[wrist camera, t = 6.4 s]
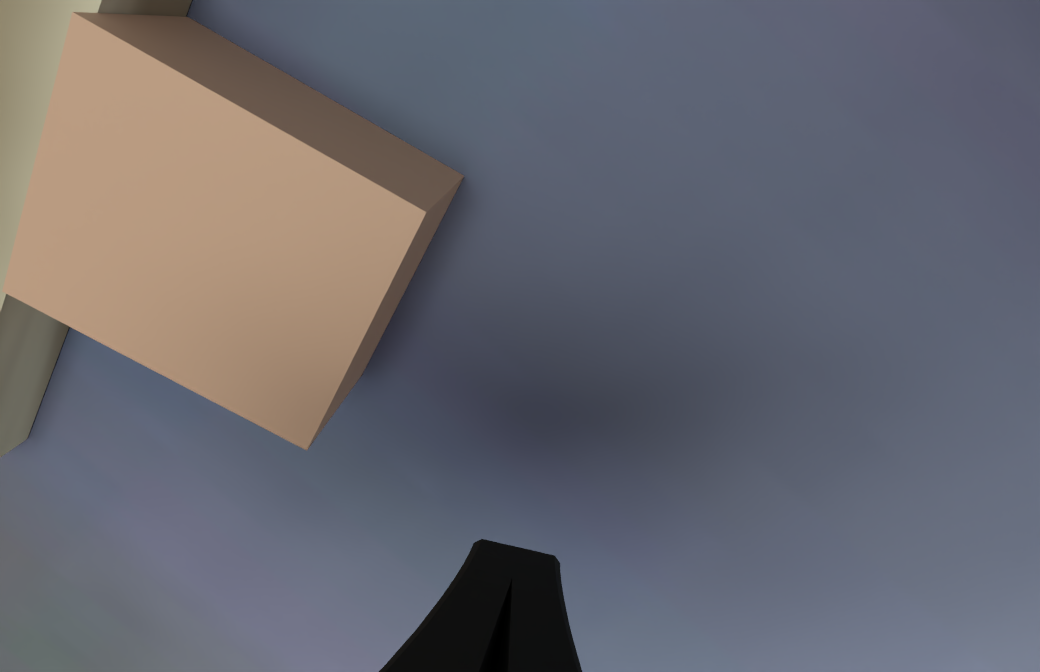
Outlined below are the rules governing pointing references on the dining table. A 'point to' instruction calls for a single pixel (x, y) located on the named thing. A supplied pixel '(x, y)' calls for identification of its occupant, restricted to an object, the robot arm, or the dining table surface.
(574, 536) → the dining table surface
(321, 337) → the tan rectangular block
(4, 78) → the birch board
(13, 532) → the dining table surface
